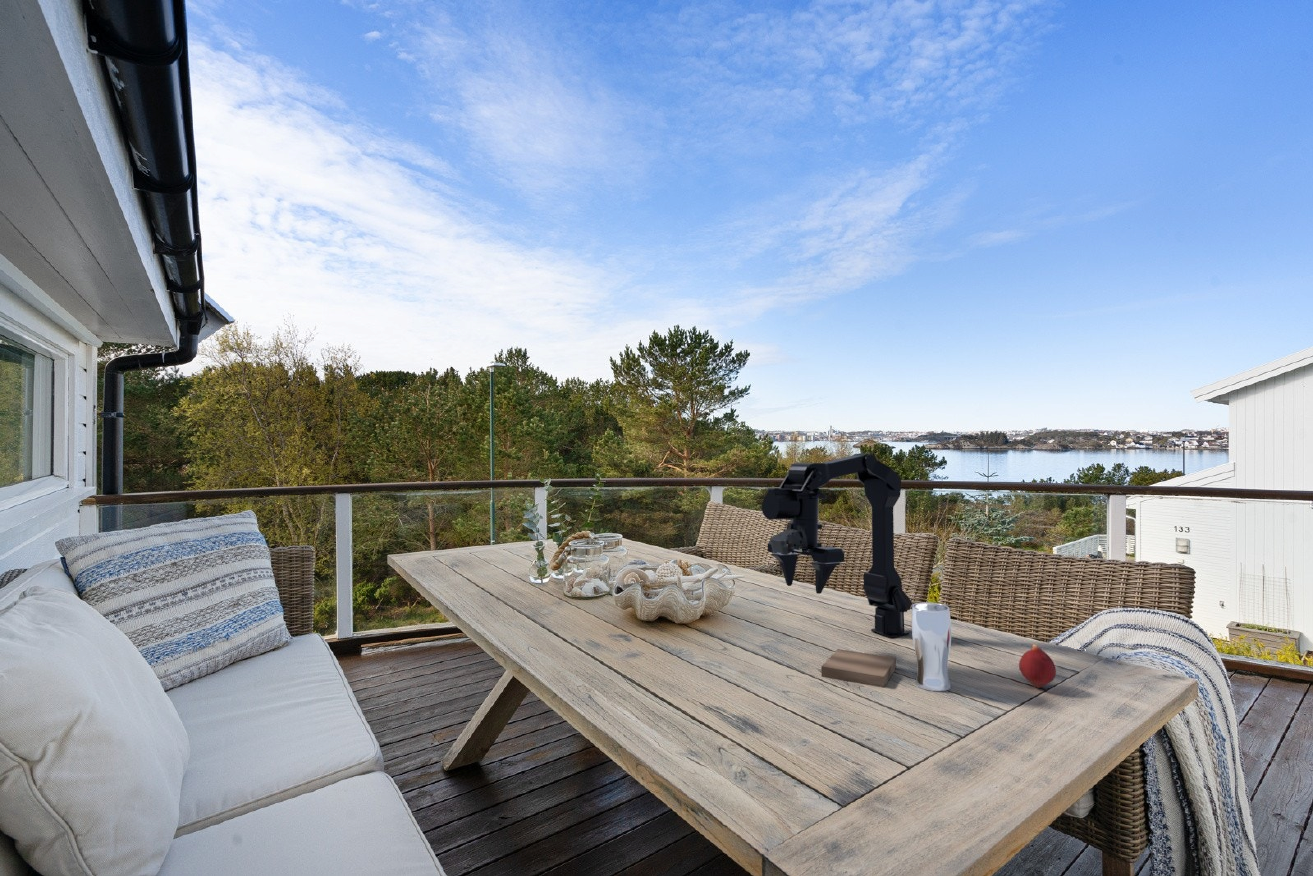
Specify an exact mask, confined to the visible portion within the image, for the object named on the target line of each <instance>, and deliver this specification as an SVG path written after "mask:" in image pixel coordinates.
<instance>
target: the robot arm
mask: <svg viewBox="0 0 1313 876" xmlns="http://www.w3.org/2000/svg"><path fill="white" fill-rule="evenodd" d="M851 474H856V478H857V480H858V482H860V483H861V484H862V485H863V489H864V495H865V497H866V499H867V500H868V503H869V505H870V506H871V551H872V552H871V553H872V555H871V556H872V557H871V558H872V559H871V561H872V562H871V567H870V568H869V571H867V572H866V571H865V572H864V573H863V575H862V576H863V586H862V589H863V590H864V595H865V596H866V598H867V601H868V605H869V606H870V607H871V606H873V607H875V608H874V609H875V614H874V628H871V629H870V631H871V633H875V632H877V633H876V634H878V633H879V634H878V635H881V636H884V637H887V636H888V638H890V637H892V638H895V637H894V636H897V637H901V636H907V635H910V631H908V630H905V613H908V611H910V610H911V608H912V600H911V599H910V597H909V596H908V594H906V593H905V591H904V590H903V585H902V578H901V576H900V574H899V573H898V570H897V569H896V567H895V545H894V544H895V541H894V539H895V537H894V536H895V535H894V530H895V529H894V528H895V527H894V524H895V523H894V507H895V506H896V504H897V502H898V500H899V499H900V497H901V491H902V478H901V476H900V475H899V474H898V472H897V471H895V470H893V469H892V468H891V467H890V466H889V465H887V464H885V463H883V462H882V461H879V460H878V459H877V457H875V456H874V455H873V454H871V453H854V454H852V455H849V456H845V457H844V456H843V457H841V458H837V459H836V458H835V459H832V460H827V461H823V462H794V463H792V464H791V465H789V469H788V472H787V474H786V475H785V477H784V479H783V480H782V482H781V484H780V486H779V487H777V488H776V487H769V488H768V490H767V491H768V493H767V494H766V495H764V496H763V499H762V502H761V511H762V514H763V516H764V517H765V518H766V519H767V520H774V521H775V520H791V522H787V524H786V530H784V531H781V532H779V533H777V534H774V535H773V536H771V537H770V538H769V540H768V542H767V552H768V553H771V554H770V555H771V556H772V557H774V559H776V560H777V561H778V562H779V565H780V568H781V571H782V573H783V577H784V580H785V584H786V586H788V587H791V586H793V582H794V578H795V577H794V576H795V573H796V567H797V563H798V562H797V561H798V555H805V556H808V557H811V559H812V560H813V561H811V562H810V564H811V565H812V566H813V568H814V576H815V580H814V581H815V582H814V583H815V593H816V595H817V594H818V595H820V594H822V592H823V590H824V588H825V586H826V585H827V582H828V580H829V579H830V576H832V575H831V574H833V572H834V570H836V569H835V568H836V567H837V566H840V565H841V563H844V562H845V552H844V550H843V549H842V548H839V547H833V546H822V542H819V541H818V539H819V530H822V529H823V523H819V500H823V499H824V500H825V499H826V498H827V496H826V495H825V494H824V493H823V492H822V491H821V489H820V488H821V487H823V486H825V485H827V484H828V483H829V481H831V480H833V479H837V478H840V477H844V476H848V475H851Z"/></svg>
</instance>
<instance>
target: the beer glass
mask: <svg viewBox="0 0 1313 876" xmlns="http://www.w3.org/2000/svg"><path fill="white" fill-rule="evenodd" d="M911 610H912V611H911V637H912V642H913V647H914V651H915V656H916V663H917V672H916V677H915V685H916V686H918V687H919V688H921V689H923V690H926V691H931V692H945V691H948V690H949V691H950V689H951V682H950V677H949V672H948V670H949V669H948V667H949V666H948V664H949V656H950V651H951V650H950V649H951V644H952V622H951V621H952V620H951V614H950V606H947V605H944V604H941V603H936V602H916V603H913V604H911Z"/></svg>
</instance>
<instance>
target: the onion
mask: <svg viewBox="0 0 1313 876" xmlns="http://www.w3.org/2000/svg"><path fill="white" fill-rule="evenodd" d="M1018 667H1019V671H1020V673H1021V675H1022V676H1023V677H1024V678H1025V680H1026V681H1028V682H1029V683H1030V684H1031V685H1032V686H1033V687H1034V688H1036V687H1037V689H1039V688H1042V687H1044V686H1047V685H1049V684H1050V683H1051V682H1052V681H1054V679H1055V677H1056V674H1057V669H1056V665H1055V663H1054V660H1053V659H1052V657H1051V656H1050V655H1049V654H1047V653H1046V652H1045V651H1044V650H1043V649H1041V647H1039V645H1037V644H1032V645H1031V649H1029V650H1026V652H1024V654H1022V656H1021V657H1020V660H1019V663H1018Z"/></svg>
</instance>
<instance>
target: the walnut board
mask: <svg viewBox="0 0 1313 876" xmlns="http://www.w3.org/2000/svg"><path fill="white" fill-rule="evenodd" d="M895 668H897V657H893V656H885V655H880V654H873V653H866V652H860V651H853V650H848V649H847V650H846V649H840V648H839V649H838V648H837V649H836V650H835V651H834V653H833V654H831V655H830V656H829V658H828V659H826V660H825V662H824V663H822V665H821V677H824V678H829V679H834V680H835V679H836V680H840V681H847V682H851V683H856V682H857V683H858V684H863V685H868V686H874V687H880V688H885V686H886V684H887V683H888V681H889V680H890V678H891V677H892V676H893V674H894V672H895V670H896V669H895ZM857 683H856V684H857Z"/></svg>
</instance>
